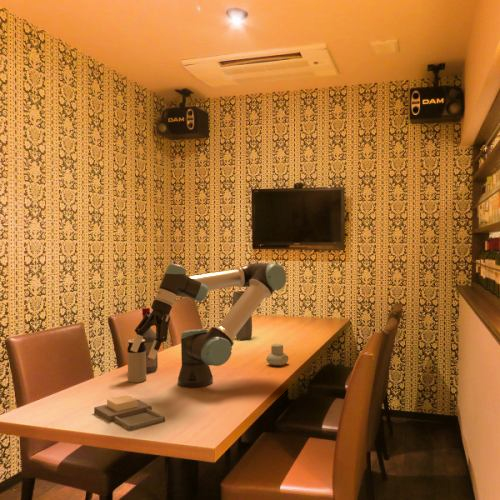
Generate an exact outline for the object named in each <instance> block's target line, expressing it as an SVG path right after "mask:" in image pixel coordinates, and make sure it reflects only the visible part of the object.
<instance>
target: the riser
mask: <svg viewBox="0 0 500 500" xmlns="http://www.w3.org/2000/svg"><path fill="white" fill-rule="evenodd" d="M134 398H135V397H134ZM135 399H137V398H135ZM137 400H138V407H133V408H129V409H125V410H121V411H115V410H113V409H111V408H110V407H108V406H107V404H103V405H98V406H95V407H93V410H94V411H93V412H94V414H96V415H97V416H99V417H101V418H102V419H104V420H105V421H107V422H109V423H112V422H115V421H114V417H115V416H117V417H118V418H124V417H128V416H132V415H136V414H140V413H144V412H146V409H150V410H152V411H153V409H152V408H153V407H152V405H151V404H148V403H146V402H144V401H142V400H140V399H137Z"/></svg>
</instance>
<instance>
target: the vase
mask: <svg viewBox="0 0 500 500" xmlns="http://www.w3.org/2000/svg"><path fill="white" fill-rule="evenodd" d="M245 291H246V290H244V291H243V290H238V291H233V293H232V301H231V302H232V307H233V306H234V305H235V303H236V302H237V301H238V300H239V298H240V297H241V296H242V295H243V293H244V292H245ZM252 335H253V317H252V315H251V316H250V318H249V319H248V320H247V322H246V323H245V324H244V325H243V327H242V328H241V329H240V331H239V332H238V333H237V335H236V336H235V338H236V340H238V341H245V340H248V339H251V337H252Z"/></svg>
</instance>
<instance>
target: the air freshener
mask: <svg viewBox="0 0 500 500" xmlns="http://www.w3.org/2000/svg"><path fill="white" fill-rule="evenodd" d="M270 346H271V347H270V348H271V351H270V352H271V353H268V355H267V356H266V362H267V363H268V364H269V365H271V366H273V365H274V366H273V367H282V366H281V365H283V366H284V365H286V364H287V363H288V361H289V356H288V355H287V353H284V344H283V343H273V344H271V345H270Z"/></svg>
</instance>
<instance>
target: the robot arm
mask: <svg viewBox="0 0 500 500" xmlns="http://www.w3.org/2000/svg"><path fill="white" fill-rule="evenodd" d="M286 283H287V273H286V270H285V269H284V267H283V266H282V265H281V264H279V263H275V262H270V263H268V262H266V263H264V262H254V263H250V264H244V265H241V266H236V267H234V268H233V269H229V270H223V271H218V272H217V271H216V272H209V273H203V274H196V275H190V276H189V275H187V269H186V268H185V267H184V266H182V265H180V264H176V263H169V264H168V265H167V267H166V269H165V272H164V274H163V277H162V280H161V282H160V285H159V287H158V290H156V294H155V297H154V298H155V299H154V300H153V302H152V303H151V306H150V311H147V313H146V315H145V316H144V318H143V317H142V319H141V320H140V322H139V324H138V325H137V326H136V328H134V332H135V334H136V336H135V337H134V339H135V340H134V342H133V345H132V347H131V349H130V350H131V351H134V352H137V351H138V349H139V346H140V344H141V341H142V339H143V336H144V333H145V332H146V331H147V330H148V329H149V328H151V327H153V326H155V333H156V339H155V340H154V343H153V345H152V348H151V350H150V353H149V355H148V357H149V358H152V359H155V357H156V355H157V356H158V353H159V350H160V348H161V346H162V343H166V342H167V341H168V335H169V334H168V332H169V324H170V323H169V322H170V320H171V317H170V316H168V315H170V313H171V310H172V308H173V305H174V303H175V301H176V298H177V297H182V298H188V299H191V300H193V301H196V302H200V303H201V302H202V301H204V300H205V299H206V297H207V296H208V292H210V291H214V290H221V289H226V288H233V287H237V288H246V290H244V291H245V292H244V293H243V295H242V296H241V297H240V298H239V300H238V301H237V302H236V303H235V305H234V306H232V307H231V309H230V310H229V311H228V312H227V313H226V314H225V316H224V317H223V319H222V320H221V321H220V322H219V324H218V325H217V326H212V327H211V328H210V329H209V330H208V329H207V328H198V329H197V328H196V329H189V330H184V331H182V332H181V334H180V345H181V346H180V348H181V350H180V351H181V353H180V354H181V367H180V369H179V370H180V371H179V373H178V377H177V385H179V386H180V387H181V386H182V387H185V388H186V387H187V388H199V387H207V386H209V385H212V384H213V382H214V379H213V378H214V376H213V374H212V370H211V368H210V366H215V367H218V366H219V367H220V366H222V365H225V364H226V363H227V362H228V361H229V359H230V358H231V356H232V350H233V346H234V344H235V341H234V338H236V335H237V333H238V332H239V331H240V329H241V328H242V327H243V325H244V324H245V323H246V322H247V320H248V319H249V318H250V316H252V315H254V312H255V311H256V310H257V309H258V308H259V306H260V304H261V303H262V302H263V301H264V300H265V299H266V298H271V296H272V295H273V294H274V293H275V291H280V290H282V289H283V288H284V287H285V285H286ZM151 310H152V311H151Z"/></svg>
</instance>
